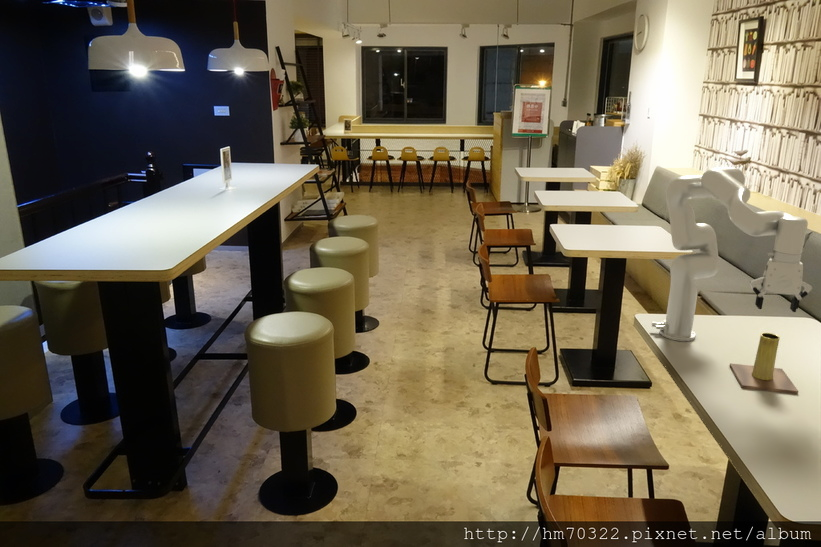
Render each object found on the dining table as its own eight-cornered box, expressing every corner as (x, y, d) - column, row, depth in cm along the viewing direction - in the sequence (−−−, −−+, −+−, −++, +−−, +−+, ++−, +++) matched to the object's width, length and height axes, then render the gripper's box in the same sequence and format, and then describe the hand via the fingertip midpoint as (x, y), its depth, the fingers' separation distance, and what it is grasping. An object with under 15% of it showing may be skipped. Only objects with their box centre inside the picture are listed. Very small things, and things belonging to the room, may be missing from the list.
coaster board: (741, 387, 198) (742, 385, 197) (729, 366, 213) (730, 363, 212) (797, 394, 194) (798, 391, 194) (781, 371, 209) (782, 368, 209)
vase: (775, 381, 200) (784, 340, 195) (754, 379, 201) (762, 338, 197) (769, 373, 206) (777, 333, 201) (749, 371, 207) (756, 331, 202)
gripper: (758, 258, 189) (748, 310, 195) (822, 262, 186) (810, 316, 191) (752, 251, 196) (742, 302, 202) (813, 255, 193) (802, 307, 198)
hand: (775, 309), depth 196 cm, fingers open, 9 cm apart
